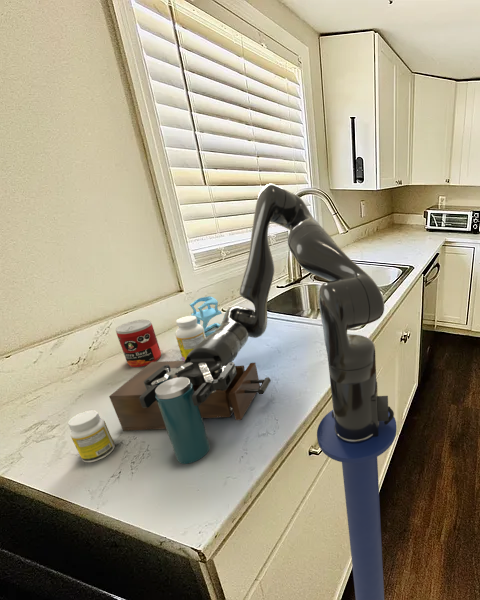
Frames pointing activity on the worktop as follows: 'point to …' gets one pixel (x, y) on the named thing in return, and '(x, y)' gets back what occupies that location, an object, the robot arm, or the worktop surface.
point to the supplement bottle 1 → (91, 436)
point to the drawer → (234, 394)
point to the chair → (206, 312)
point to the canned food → (138, 342)
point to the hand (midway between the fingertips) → (169, 402)
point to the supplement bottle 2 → (188, 334)
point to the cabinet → (130, 405)
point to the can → (182, 419)
